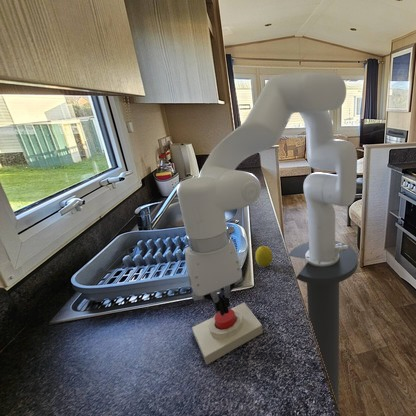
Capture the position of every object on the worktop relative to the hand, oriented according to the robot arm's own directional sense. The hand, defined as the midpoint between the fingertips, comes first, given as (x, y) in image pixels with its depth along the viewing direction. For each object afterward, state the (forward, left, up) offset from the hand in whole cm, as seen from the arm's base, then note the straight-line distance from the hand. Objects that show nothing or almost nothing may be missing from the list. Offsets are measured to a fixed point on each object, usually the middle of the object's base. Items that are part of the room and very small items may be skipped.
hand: (223, 310), depth 59 cm
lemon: (-12, -25, -7) cm, 29 cm away
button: (0, 0, -4) cm, 4 cm away
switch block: (0, 0, -7) cm, 7 cm away
